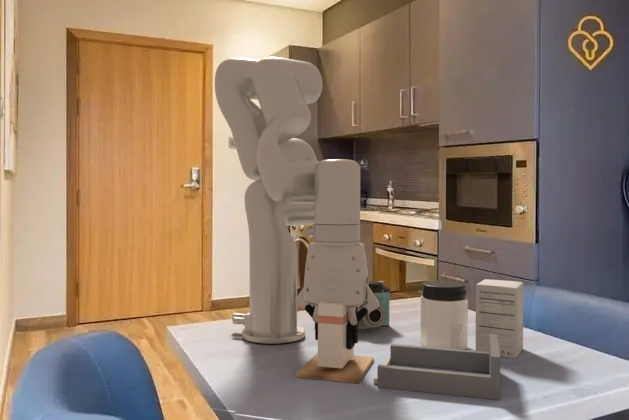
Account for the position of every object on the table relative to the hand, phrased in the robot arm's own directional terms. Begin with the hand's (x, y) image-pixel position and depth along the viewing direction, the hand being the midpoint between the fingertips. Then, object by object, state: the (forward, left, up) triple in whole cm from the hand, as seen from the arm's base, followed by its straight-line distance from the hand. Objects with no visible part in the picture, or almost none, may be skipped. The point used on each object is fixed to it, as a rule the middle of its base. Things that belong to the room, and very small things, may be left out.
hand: (336, 344), depth 89 cm
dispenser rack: (+16, 0, -4) cm, 17 cm away
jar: (+16, +19, -4) cm, 25 cm away
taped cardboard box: (0, 0, -3) cm, 3 cm away
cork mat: (0, 0, -4) cm, 4 cm away
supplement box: (+26, +19, -4) cm, 33 cm away
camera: (-2, +25, -4) cm, 25 cm away
